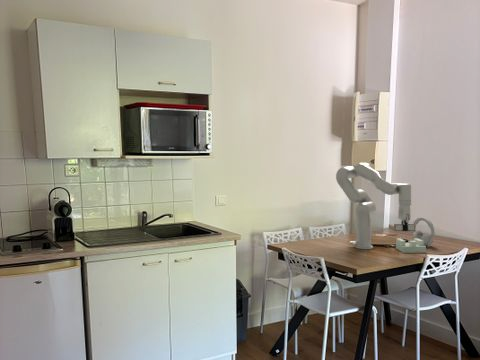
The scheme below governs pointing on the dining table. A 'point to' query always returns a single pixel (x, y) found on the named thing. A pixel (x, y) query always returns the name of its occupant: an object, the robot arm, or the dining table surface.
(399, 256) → the dining table surface
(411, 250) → the stand
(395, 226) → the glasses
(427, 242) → the headphones
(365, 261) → the dining table surface
